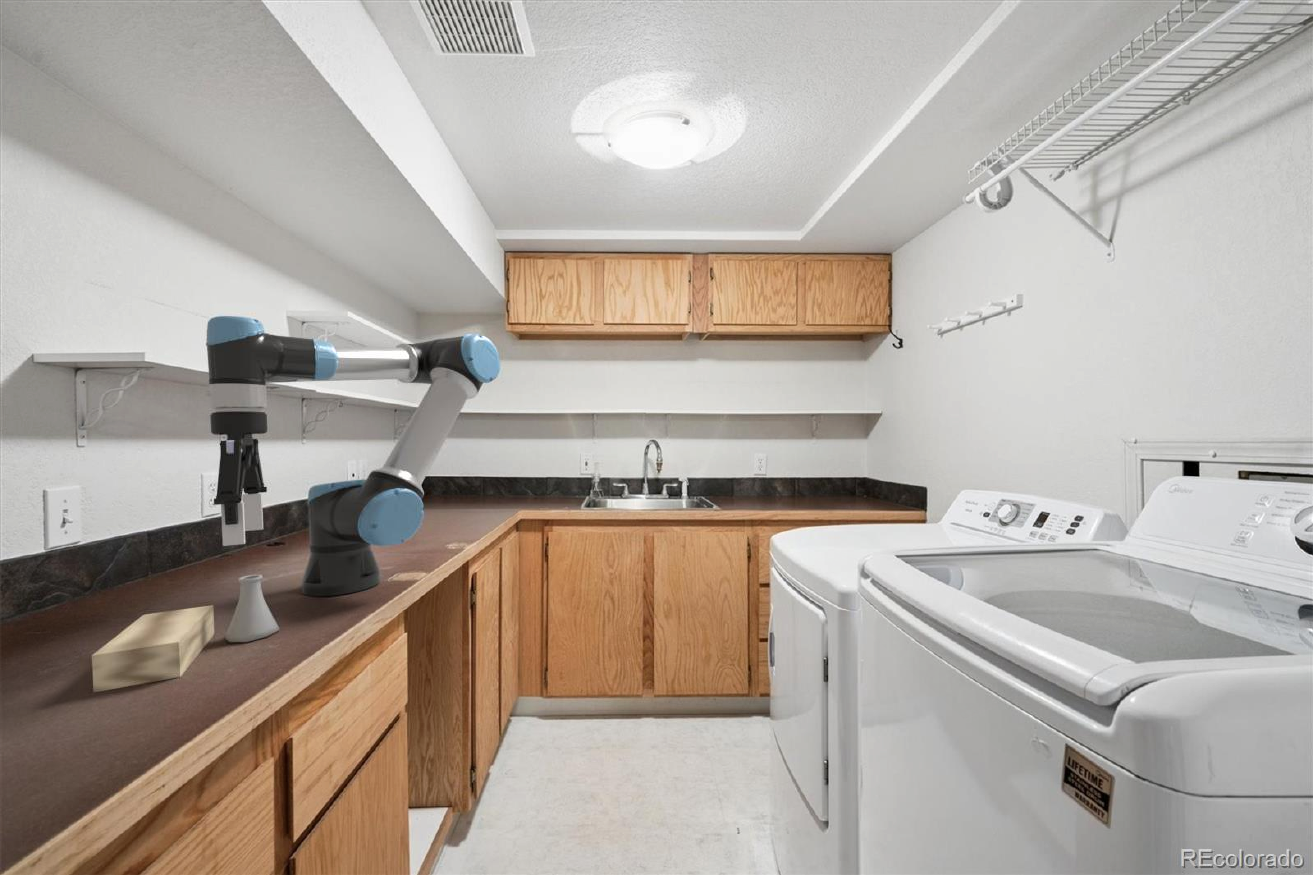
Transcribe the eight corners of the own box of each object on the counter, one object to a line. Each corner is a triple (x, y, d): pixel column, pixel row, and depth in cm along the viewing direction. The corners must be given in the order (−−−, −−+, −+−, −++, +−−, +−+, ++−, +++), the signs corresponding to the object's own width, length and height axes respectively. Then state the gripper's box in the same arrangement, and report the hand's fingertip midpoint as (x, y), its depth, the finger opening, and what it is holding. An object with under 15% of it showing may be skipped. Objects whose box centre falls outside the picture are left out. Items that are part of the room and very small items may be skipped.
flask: (215, 641, 90) (212, 581, 89) (260, 625, 96) (257, 569, 96) (244, 646, 87) (242, 585, 87) (288, 630, 94) (286, 572, 94)
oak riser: (214, 634, 93) (213, 605, 93) (180, 676, 77) (178, 641, 77) (144, 645, 89) (143, 614, 88) (93, 692, 73) (91, 655, 72)
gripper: (230, 413, 100) (235, 527, 101) (185, 408, 78) (192, 555, 78) (279, 412, 104) (284, 523, 104) (249, 408, 81) (255, 548, 82)
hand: (244, 537), depth 91 cm, fingers open, 13 cm apart
